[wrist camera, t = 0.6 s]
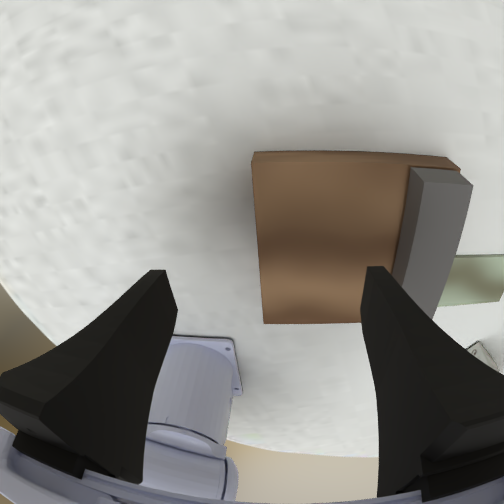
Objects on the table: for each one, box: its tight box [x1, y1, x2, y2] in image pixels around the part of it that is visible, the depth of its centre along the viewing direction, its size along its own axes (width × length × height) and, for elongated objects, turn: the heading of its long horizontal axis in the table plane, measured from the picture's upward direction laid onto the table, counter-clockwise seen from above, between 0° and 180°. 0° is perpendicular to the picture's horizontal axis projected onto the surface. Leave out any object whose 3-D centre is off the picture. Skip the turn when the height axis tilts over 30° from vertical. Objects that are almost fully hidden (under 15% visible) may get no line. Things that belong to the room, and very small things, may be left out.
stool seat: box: [251, 151, 504, 324], centre depth 19 cm, size 12×22×2 cm, turn 94°
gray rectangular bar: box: [392, 167, 473, 319], centre depth 17 cm, size 12×3×2 cm, turn 4°
